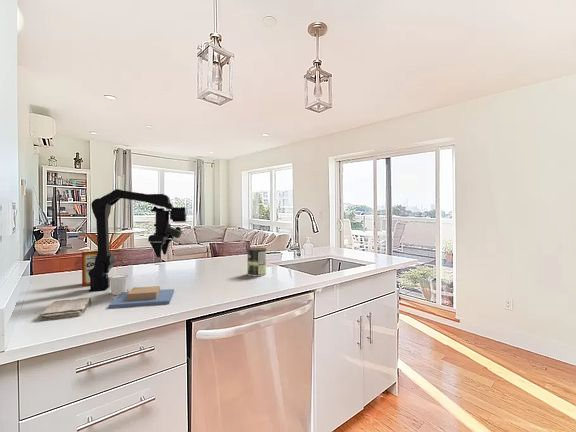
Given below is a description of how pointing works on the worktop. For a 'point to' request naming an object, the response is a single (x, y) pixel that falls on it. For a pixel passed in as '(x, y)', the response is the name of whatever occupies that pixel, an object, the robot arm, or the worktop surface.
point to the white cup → (118, 284)
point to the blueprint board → (147, 302)
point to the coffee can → (256, 261)
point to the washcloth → (66, 309)
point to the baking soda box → (87, 265)
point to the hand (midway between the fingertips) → (161, 255)
